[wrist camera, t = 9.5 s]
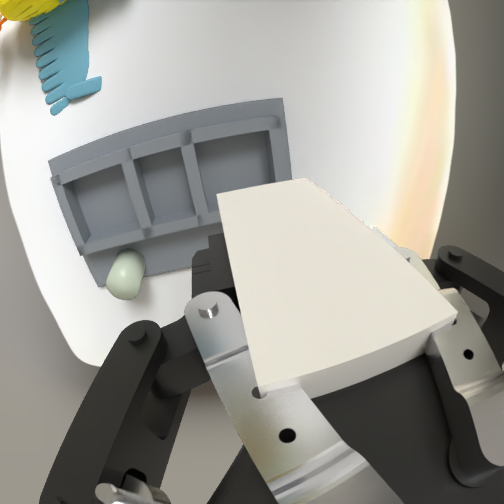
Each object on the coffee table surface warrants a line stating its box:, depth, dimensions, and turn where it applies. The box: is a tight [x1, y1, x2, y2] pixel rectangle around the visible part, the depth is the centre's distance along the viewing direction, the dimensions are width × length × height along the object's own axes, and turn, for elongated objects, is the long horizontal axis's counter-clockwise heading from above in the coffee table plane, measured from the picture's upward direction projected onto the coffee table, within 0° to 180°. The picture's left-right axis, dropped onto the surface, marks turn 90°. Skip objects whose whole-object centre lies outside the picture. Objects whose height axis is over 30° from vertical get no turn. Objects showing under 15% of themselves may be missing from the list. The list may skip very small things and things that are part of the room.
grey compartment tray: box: [48, 98, 292, 300], centre depth 22 cm, size 14×22×5 cm, turn 99°
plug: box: [216, 178, 458, 399], centre depth 9 cm, size 4×4×9 cm
